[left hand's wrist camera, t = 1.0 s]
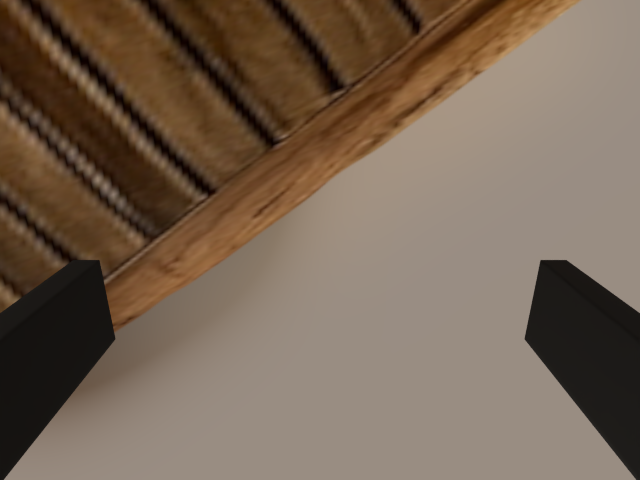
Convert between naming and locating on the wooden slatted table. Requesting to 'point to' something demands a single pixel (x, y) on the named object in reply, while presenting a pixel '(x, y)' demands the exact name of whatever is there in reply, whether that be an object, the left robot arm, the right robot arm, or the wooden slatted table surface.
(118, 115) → the wooden slatted table surface
